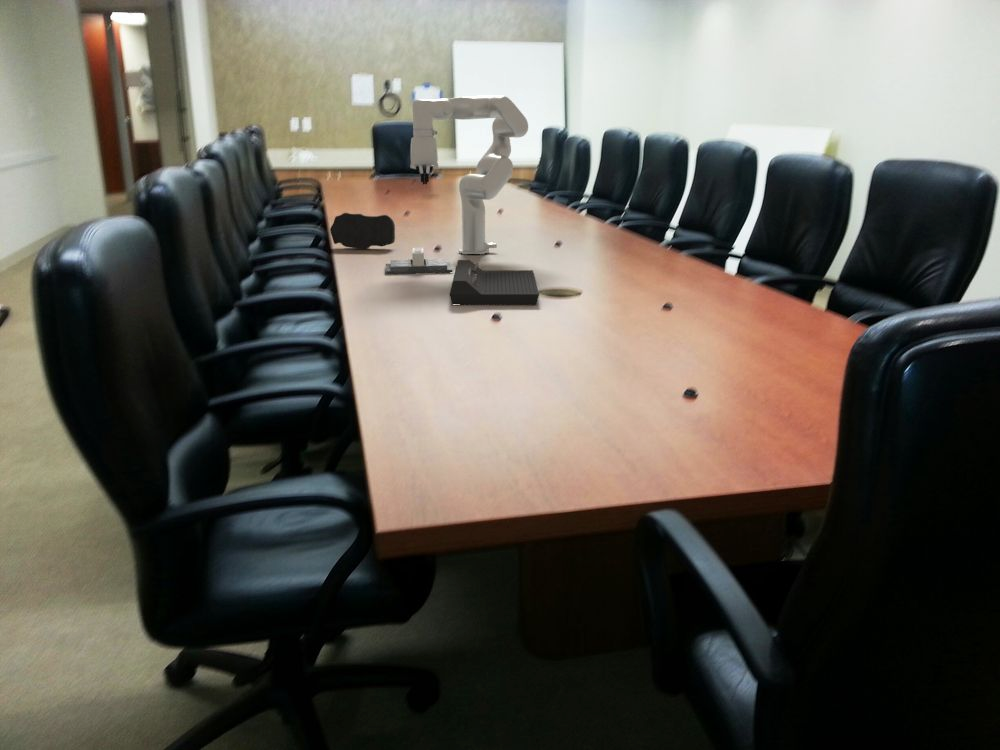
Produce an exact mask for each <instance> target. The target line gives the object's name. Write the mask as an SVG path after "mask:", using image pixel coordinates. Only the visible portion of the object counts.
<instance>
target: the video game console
mask: <svg viewBox="0 0 1000 750" xmlns="http://www.w3.org/2000/svg"><path fill="white" fill-rule="evenodd" d="M479 264H480V263H479V262H478V261H477V262H476V263H474V262H473V261H471V260H470V259H458V260H457V264H456V267H455V269H454V274H453V279H452V282H451V286H450V291H449V297H450V301H451V305H452V304H460V305H459V306H537V303H538V300H539V297H540V293H539V292H540V291H539V288H538V286H537V285H538V283H537V281H536V277H535V273H534V270H531V269H530V270H527V269H524V270H521V269H519V270H517V269H516V270H515V269H514V270H512V269H508V270H506V269H505V270H504V269H503V270H502V269H498V270H496V269H495V270H494V269H492V270H491V269H489V270H487V269H486V270H485V269H482V268H480V266H479Z"/></svg>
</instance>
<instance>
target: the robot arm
mask: <svg viewBox="0 0 1000 750" xmlns="http://www.w3.org/2000/svg"><path fill="white" fill-rule="evenodd" d="M411 104H412V107H411V108H412V128H413V129H412V132H413V133H412V134H413V137H411V140H410V164H409V165H410V166H409V167H410V169H414V170H417V171H418V173H419V174H420V183H422V185H428V183H429V182H430V180H429V178H430V177H429V174H430V172H432V171H433V170H435V169H438V168H439V164H438V163H439V162H438V159H439V158H438V157H439V156H438V147H437V140H436V137H434V136H435V135H438V130H435V129H434V121H445V120H449V119H450V120H462V121H463V120H478V119H480V120H481V119H482V120H483V119H493V122H492V127H491V130H492V131H491V132H492V136H493V137H492V140H493V141H492V143H491V145H490V147H488V149H487V151H486V152H485V153H484V155H483V156H482V157H481V158H480V160H479V161H478V162H477V165H476V172H477V173H468V174H465V175H464V176H462V177H461V179H460V180H459V184H458V189H459V195H460V200H461V228H462V230H461V238H462V239H461V240H462V246H461V247H462V248H459V249H458V253H459V254H461V253H462V255H467V254H480V255H486V254H485V253H487V254H489V253H490V249H497V247H498V246H497V245H498V243H496V242H494V243H493V242H490V243H489V242H487V241H486V206H485V202H484V200H486V201H489V200H492V199H494V198H495V197H496V196H497V195H498V194H499V193H500V191H501V190H502V189H503V188H504V187H505V185H506V184H507V183H508V182H509V180H510V178H511V176H512V175H513V171H514V164H513V161H512V160H511V159H510V156H511V152H512V146H511V139H510V138H522V137H524V136H525V135H526V134H527V133H528V131H529V122H528V120H527V118H526V116H525V115H524V114H523V113H522V111H521V110H520V109H519V108H518V107H517V105H516V104H515V103H514V102H513V101H512V100H511V99H510V98H509V97H508V96H506V95H476V96H472V95H471V96H458V97H451V98H428V99H423V98H422V99H413V101H412V103H411ZM423 166H426V168H425V171H424V170H423ZM488 252H489V253H488Z"/></svg>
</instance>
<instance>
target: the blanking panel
mask: <svg viewBox="0 0 1000 750" xmlns="http://www.w3.org/2000/svg"><path fill="white" fill-rule="evenodd" d="M424 249H425V248H424V247H412V252H411V253H412V255H411V256H412V258H411V259H412V260H413V266H415V265H423V266H424V259H425V253H424V252H425V250H424Z"/></svg>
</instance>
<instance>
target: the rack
mask: <svg viewBox="0 0 1000 750" xmlns="http://www.w3.org/2000/svg"><path fill="white" fill-rule="evenodd" d="M450 272H453V268H452V265H451V262H449V261H446V258H432V259H431V258H430V259H429V258H424V266H423V265H415V266H413V260H412V258H410V259H409V258H408V259H392V260H391V259H390V263H385V275H386V274H393V275H417V274H416V273H435V274H451V273H450Z"/></svg>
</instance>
